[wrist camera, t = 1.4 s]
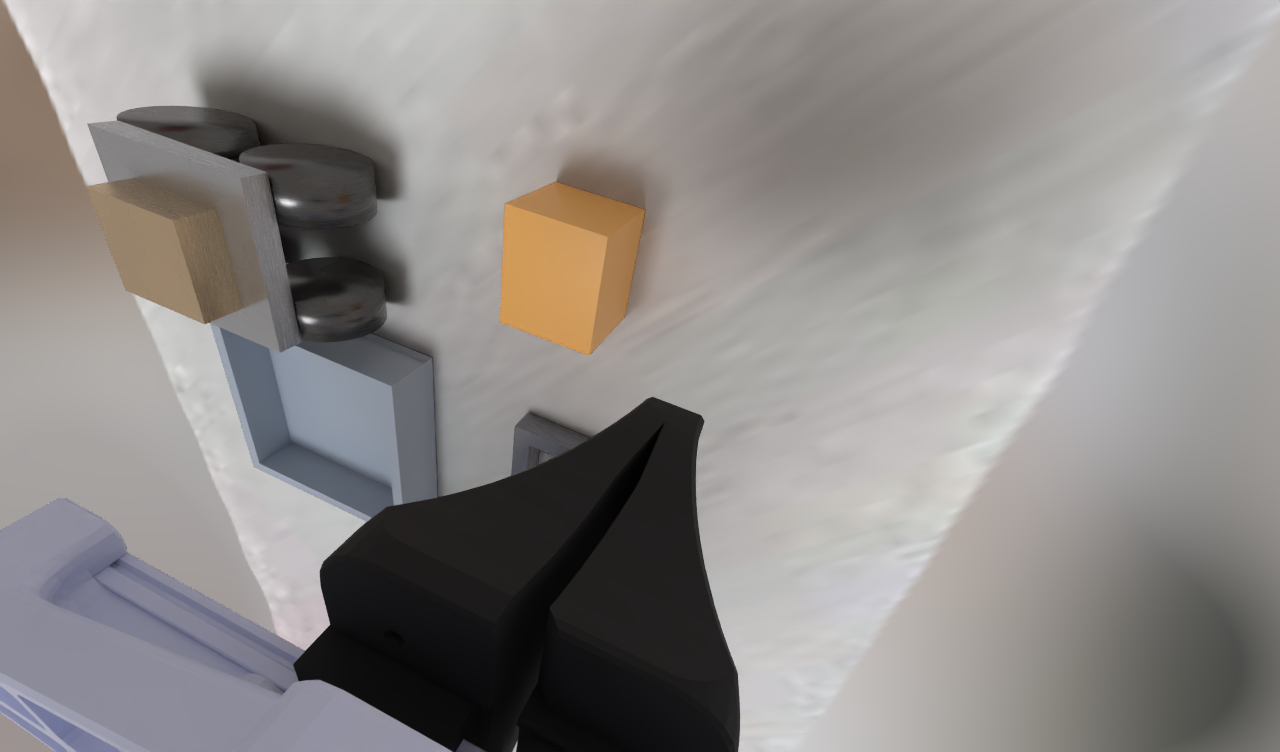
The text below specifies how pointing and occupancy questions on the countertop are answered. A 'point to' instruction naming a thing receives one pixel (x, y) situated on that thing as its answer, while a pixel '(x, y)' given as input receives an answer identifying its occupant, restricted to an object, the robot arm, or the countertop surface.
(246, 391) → the tray
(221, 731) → the robot arm
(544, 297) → the block
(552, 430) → the socket ring
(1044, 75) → the countertop surface
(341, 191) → the trolley
